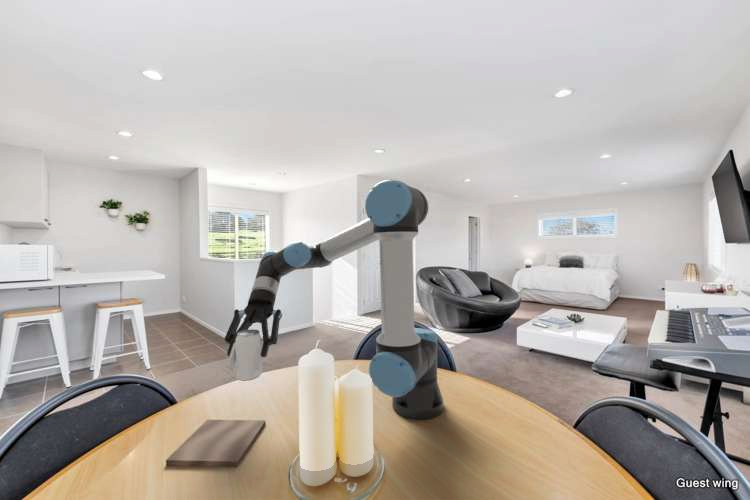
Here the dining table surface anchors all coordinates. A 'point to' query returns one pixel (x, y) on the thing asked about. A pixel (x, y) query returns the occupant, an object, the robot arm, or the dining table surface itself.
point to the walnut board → (217, 443)
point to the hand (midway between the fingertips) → (243, 368)
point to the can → (247, 354)
